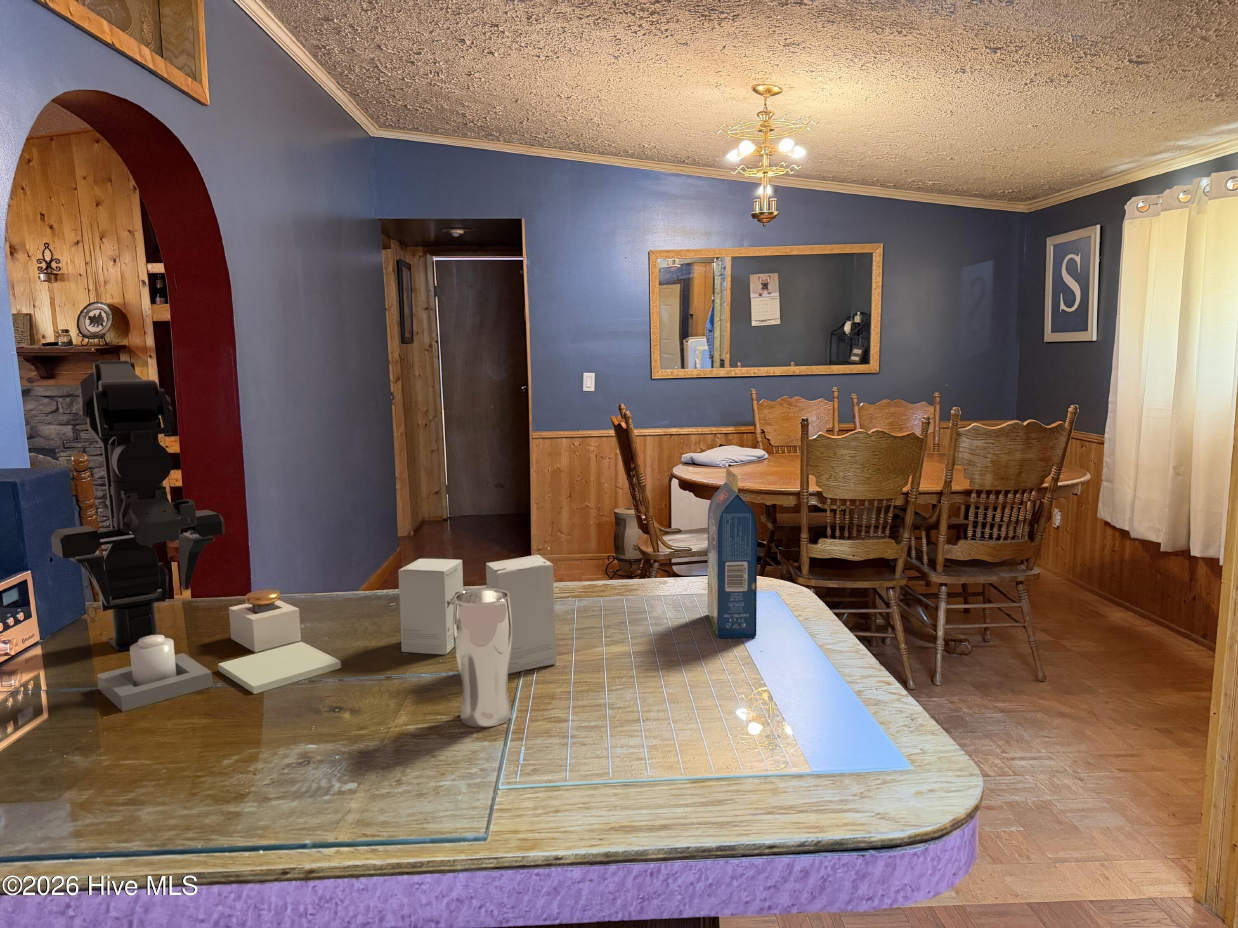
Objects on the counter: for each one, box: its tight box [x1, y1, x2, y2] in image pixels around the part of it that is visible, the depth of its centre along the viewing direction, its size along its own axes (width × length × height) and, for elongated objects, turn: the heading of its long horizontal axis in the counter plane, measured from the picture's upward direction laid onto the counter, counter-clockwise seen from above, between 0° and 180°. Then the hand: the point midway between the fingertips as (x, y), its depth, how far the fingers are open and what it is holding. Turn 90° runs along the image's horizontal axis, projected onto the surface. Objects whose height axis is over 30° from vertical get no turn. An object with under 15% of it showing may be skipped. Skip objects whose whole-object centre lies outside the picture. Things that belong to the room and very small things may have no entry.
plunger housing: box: [228, 599, 302, 653], centre depth 126 cm, size 9×7×5 cm
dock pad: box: [217, 641, 342, 695], centre depth 114 cm, size 12×12×1 cm
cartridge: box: [129, 634, 176, 687], centre depth 107 cm, size 5×5×7 cm
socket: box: [96, 652, 214, 712], centre depth 108 cm, size 11×11×2 cm
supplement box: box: [397, 558, 464, 655], centre depth 122 cm, size 7×7×13 cm
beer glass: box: [453, 587, 513, 729], centre depth 97 cm, size 7×7×15 cm
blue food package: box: [707, 465, 758, 639], centre depth 128 cm, size 6×12×25 cm, turn 1°
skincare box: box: [485, 554, 558, 675], centre depth 113 cm, size 8×6×15 cm
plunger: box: [245, 589, 281, 614], centre depth 126 cm, size 5×5×6 cm
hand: (147, 596), depth 106 cm, fingers open, 9 cm apart
